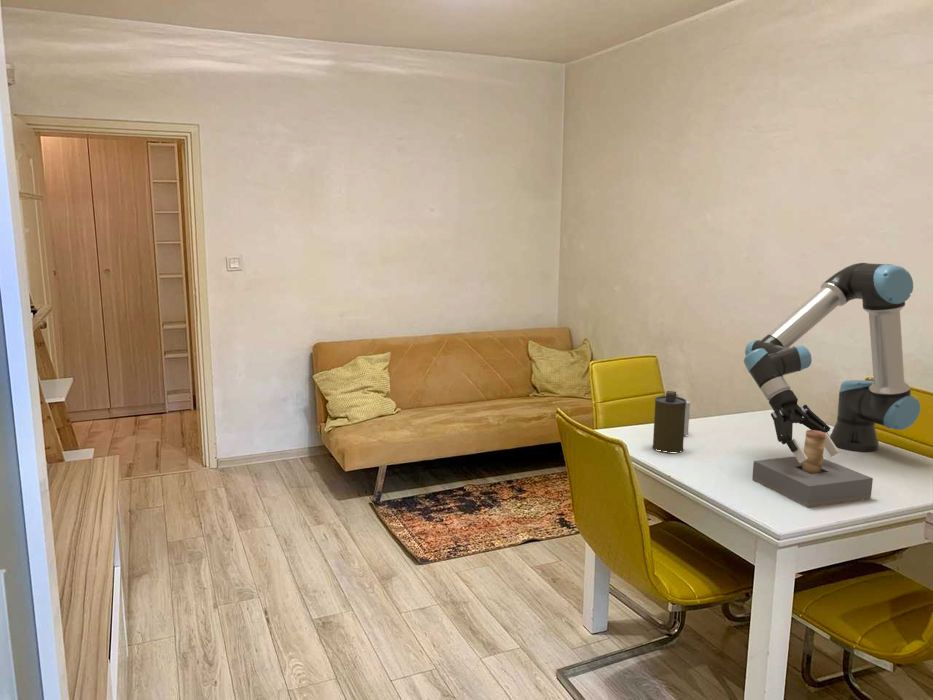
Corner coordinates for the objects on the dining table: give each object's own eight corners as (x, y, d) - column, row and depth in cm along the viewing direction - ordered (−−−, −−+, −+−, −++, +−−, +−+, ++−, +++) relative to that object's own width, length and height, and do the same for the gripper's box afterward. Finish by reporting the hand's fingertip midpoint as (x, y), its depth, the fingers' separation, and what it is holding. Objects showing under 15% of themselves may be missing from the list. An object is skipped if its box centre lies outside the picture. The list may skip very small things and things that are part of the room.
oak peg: (810, 481, 209) (816, 429, 206) (823, 487, 204) (829, 434, 201) (796, 483, 208) (802, 430, 205) (809, 489, 203) (815, 435, 200)
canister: (681, 455, 236) (685, 396, 233) (650, 451, 240) (653, 393, 237) (685, 446, 246) (688, 389, 243) (654, 442, 250) (657, 387, 247)
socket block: (811, 472, 220) (813, 454, 219) (870, 498, 199) (872, 478, 198) (752, 479, 213) (753, 460, 212) (807, 507, 193) (809, 486, 192)
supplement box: (688, 436, 257) (690, 402, 255) (668, 436, 257) (669, 402, 255) (682, 430, 265) (684, 397, 262) (662, 430, 265) (664, 397, 263)
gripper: (799, 397, 221) (838, 457, 211) (742, 406, 210) (781, 470, 199) (815, 384, 216) (857, 445, 205) (758, 392, 204) (799, 457, 194)
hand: (819, 457), depth 202 cm, fingers open, 13 cm apart
